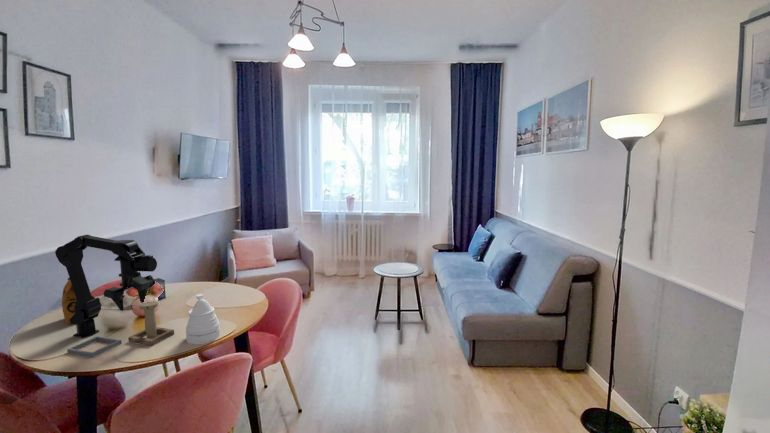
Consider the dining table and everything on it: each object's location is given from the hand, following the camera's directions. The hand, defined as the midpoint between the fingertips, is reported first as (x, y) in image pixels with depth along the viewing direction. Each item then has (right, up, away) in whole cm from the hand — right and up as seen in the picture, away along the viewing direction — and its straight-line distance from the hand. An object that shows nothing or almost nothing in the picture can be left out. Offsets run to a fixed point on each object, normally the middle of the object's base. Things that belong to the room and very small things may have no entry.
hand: (132, 306), depth 154 cm
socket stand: (+9, -13, -1) cm, 16 cm away
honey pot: (+30, -13, +1) cm, 33 cm away
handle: (+9, -13, -1) cm, 16 cm away
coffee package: (-38, -11, +17) cm, 43 cm away
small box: (-18, -7, +43) cm, 47 cm away
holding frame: (-8, -14, -9) cm, 19 cm away
